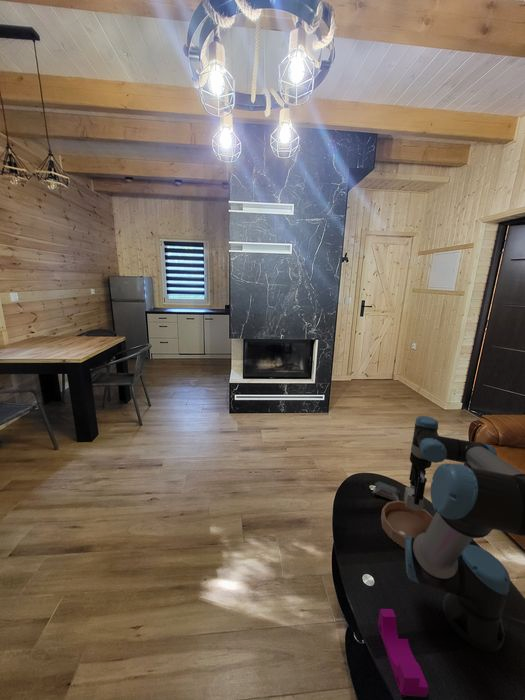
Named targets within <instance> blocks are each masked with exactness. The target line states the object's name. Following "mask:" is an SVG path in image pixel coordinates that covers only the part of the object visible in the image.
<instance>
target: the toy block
mask: <svg viewBox="0 0 525 700" xmlns="http://www.w3.org/2000/svg"><path fill="white" fill-rule="evenodd" d="M378 614H379V615H378V621H377V627H378V630H379V632H380V636H381V640H382V642H383V646H384V647H385V651H386V655H387V657H388V660H389V663H390V666H391V669H392V672H393V675H394V678H395V681H396V684H397V688H398V687H399V688H398V690H400V691H399V693H400V692H401V694H402V695H421V696H428V691H429V689H430V688H429V685H428V683H427V680H426V677H425V676H424V673H423V670H422V667H421V665H419V663H418V662H417V661H416V658H415V656H414V654H413V652H412V650H411V647H410V644H409V639H408V638H399V635H398V629H397V616H396V614H395V611H394V609H393V608H380V609H379V613H378ZM401 694H400V695H401Z"/></svg>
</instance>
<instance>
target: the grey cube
mask: <svg viewBox="0 0 525 700" xmlns="http://www.w3.org/2000/svg"><path fill="white" fill-rule="evenodd" d="M404 489H405V490H404V497H403V501H404V502H405V505H406V508H410V509H411V503H412V497H413V496H412V494H414V488H410V486H409V487H408V486H405V488H404ZM425 499H426V498H425V496H423V500H420V505H419V511H423V509H424V503H425Z"/></svg>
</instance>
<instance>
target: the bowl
mask: <svg viewBox="0 0 525 700" xmlns="http://www.w3.org/2000/svg"><path fill="white" fill-rule="evenodd" d="M381 509H382V510H381V516H380V520H381V526H382V529H383V531H384V532H385V534H386V535H387V536H388V537H389V539H390V538H391V539H392V540H393V541H392V540H391V539H390V540H391V541H392V542H394V543H395V542H396V543H395V544H397V545H398V544H399V546H400V547H402V548H403V549H404V550H405V538H406V537H407V536H409V537H411V536H412V537H414V538H416V537H417V536H418V535H419V534H421V533H426V531H427V529H428V527H429V525H430V523H431V521H432V519H433V517H434V516H433V515H432V514H430V513H429V512H428V511H427V510H426V509H425V508H423V511H417V510H412V509H410V508H406V505H405V502H404V500H399V501H393V500H392V501H388V502H387V503H385V505H384V506H383V507H382V508H381Z"/></svg>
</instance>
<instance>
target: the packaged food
mask: <svg viewBox="0 0 525 700" xmlns="http://www.w3.org/2000/svg"><path fill="white" fill-rule="evenodd" d="M374 486H375V487H376V488H375V489H374V490H373V491H372V492H371V493H373V494H376V495H377V496H380V497H383V498H386V499H388V500H391V501H392V502H393V501H400V499H399V498H400V497H399V494H400V493H401V491H400V490H399V488H397V487H396V486H393V485H390V484H388V483H385V482H383V481H376V482H375V483H374Z"/></svg>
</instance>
